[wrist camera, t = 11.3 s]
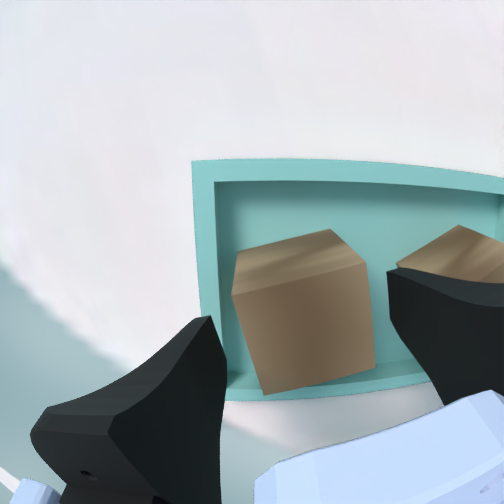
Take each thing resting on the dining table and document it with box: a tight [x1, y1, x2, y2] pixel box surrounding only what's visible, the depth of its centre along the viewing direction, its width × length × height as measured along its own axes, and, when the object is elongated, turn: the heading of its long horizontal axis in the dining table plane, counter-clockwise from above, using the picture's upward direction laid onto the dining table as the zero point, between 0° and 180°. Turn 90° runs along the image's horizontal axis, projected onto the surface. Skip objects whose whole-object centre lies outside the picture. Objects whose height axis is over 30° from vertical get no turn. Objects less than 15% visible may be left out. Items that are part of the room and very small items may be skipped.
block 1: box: [231, 229, 376, 396], centre depth 11 cm, size 4×4×4 cm
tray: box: [192, 159, 504, 401], centre depth 13 cm, size 16×11×2 cm
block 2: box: [396, 224, 504, 283], centre depth 11 cm, size 4×4×4 cm
